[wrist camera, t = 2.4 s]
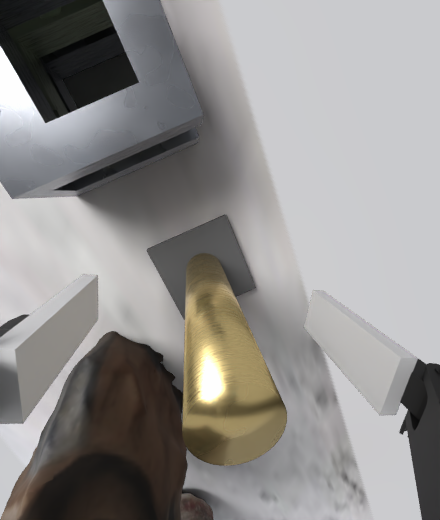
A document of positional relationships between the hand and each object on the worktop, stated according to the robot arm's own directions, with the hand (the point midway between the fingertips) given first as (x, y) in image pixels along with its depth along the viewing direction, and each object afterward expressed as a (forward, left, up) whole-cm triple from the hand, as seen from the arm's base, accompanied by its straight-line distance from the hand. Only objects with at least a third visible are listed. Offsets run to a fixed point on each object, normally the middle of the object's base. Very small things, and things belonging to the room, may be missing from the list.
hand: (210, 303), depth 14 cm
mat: (0, 0, -7) cm, 7 cm away
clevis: (-11, -11, -7) cm, 17 cm away
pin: (0, 0, -6) cm, 6 cm away
